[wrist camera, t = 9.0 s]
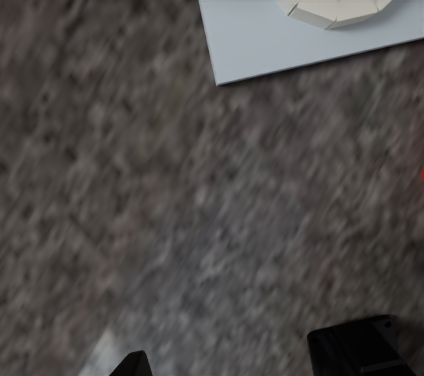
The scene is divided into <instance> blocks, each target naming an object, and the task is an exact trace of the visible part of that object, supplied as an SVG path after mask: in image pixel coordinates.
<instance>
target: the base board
mask: <svg viewBox="0 0 424 376" xmlns="http://www.w3.org/2000/svg"><path fill="white" fill-rule="evenodd" d="M198 1H199V5H200V10H201V15H202V20H203V24H204V29H205V34H206V39H207V43H208V48H209V53H210V58H211V62H212V67H213V72H214V77H215V81H216V86H219V85H223V84H228V83H232V82H236V81H241V80H245V79H249V78H254V77H258V76H263V75H267V74H271V73H276V72H280V71H284V70H289V69H293V68H297V67H302V66H306V65H311V64H315V63H319V62H324V61H328V60H332V59H337V58H341V57H345V56H350V55H354V54H359V53H363V52H367V51H372V50H376V49H380V48H385V47H389V46H393V45H398V44H402V43H407V42H411V41H415V40H420V39H424V0H198Z"/></svg>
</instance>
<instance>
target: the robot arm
mask: <svg viewBox="0 0 424 376" xmlns="http://www.w3.org/2000/svg"><path fill="white" fill-rule="evenodd" d="M386 322H388V323H387V324H385V323H386ZM313 338H316V339H315V340H313ZM307 341H308V347H309V353H310V358H311V364H312V369H313V375H314V376H417V375H416V374H415V373H414V372H413V371H412V370H411V368H410V367H409V366H408V365H407V364H406V363H405V362H404V360H403V358H402V357H401V356H400V355H399V354H398V349H397V340H396V331H395V323H394V321H393V320H392V319H391V318H390V317H389V316H387V315H384V316H379V317H375V318H371V319H366V320H362V321H357V322H353V323H348V324H344V325H339V326H335V327H330V328H326V329H321V330H317V331H312V332H310V333H309V334H308V336H307ZM109 376H153V375H152V372H151V368H150V365H149V362H148V359H147V355H146V353H145V352H144V351H143V350H141V351H136V352H132V353H129V354H128V355H127V356H126V357H125V358H124V359H123V361H122V362H121V363H120V364H119V365H118V366H117V367H116V369H115V370H114V371H113V372H112V373H111V374H110V375H109Z"/></svg>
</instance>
